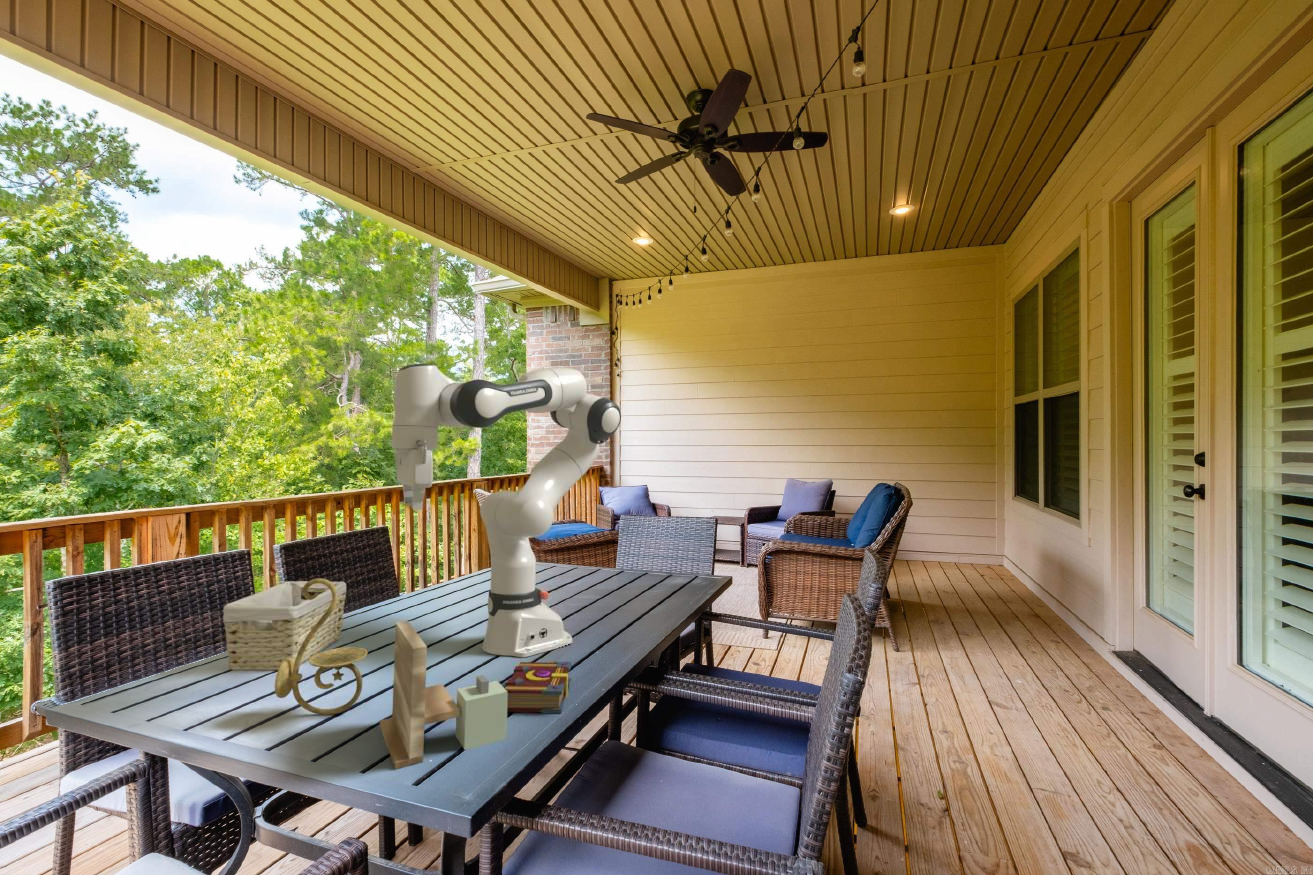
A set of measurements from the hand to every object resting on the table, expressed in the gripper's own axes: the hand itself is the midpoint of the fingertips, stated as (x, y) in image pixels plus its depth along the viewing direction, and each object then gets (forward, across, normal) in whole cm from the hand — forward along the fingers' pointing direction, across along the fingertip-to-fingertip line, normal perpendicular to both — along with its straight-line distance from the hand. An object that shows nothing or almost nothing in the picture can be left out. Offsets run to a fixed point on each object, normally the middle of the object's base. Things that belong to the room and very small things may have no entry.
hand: (412, 507), depth 116 cm
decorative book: (+38, -16, -23) cm, 47 cm away
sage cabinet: (+37, -27, -8) cm, 47 cm away
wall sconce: (+38, -4, +15) cm, 40 cm away
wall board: (+37, -22, +1) cm, 43 cm away
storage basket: (+38, +35, +20) cm, 55 cm away
